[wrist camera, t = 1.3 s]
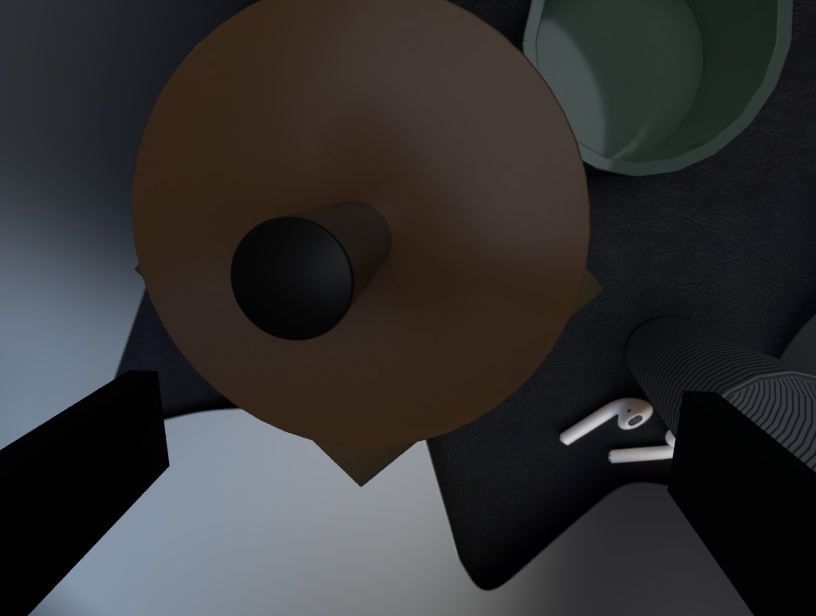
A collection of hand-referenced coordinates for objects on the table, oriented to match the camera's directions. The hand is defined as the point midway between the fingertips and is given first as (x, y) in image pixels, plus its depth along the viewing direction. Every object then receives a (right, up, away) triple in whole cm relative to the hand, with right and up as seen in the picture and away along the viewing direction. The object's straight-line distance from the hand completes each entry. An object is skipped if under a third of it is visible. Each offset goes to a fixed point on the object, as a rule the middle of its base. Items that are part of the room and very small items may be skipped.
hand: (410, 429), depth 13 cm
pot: (+15, +20, +25) cm, 35 cm away
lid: (-2, +5, +5) cm, 8 cm away
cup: (+21, 0, +30) cm, 36 cm away
